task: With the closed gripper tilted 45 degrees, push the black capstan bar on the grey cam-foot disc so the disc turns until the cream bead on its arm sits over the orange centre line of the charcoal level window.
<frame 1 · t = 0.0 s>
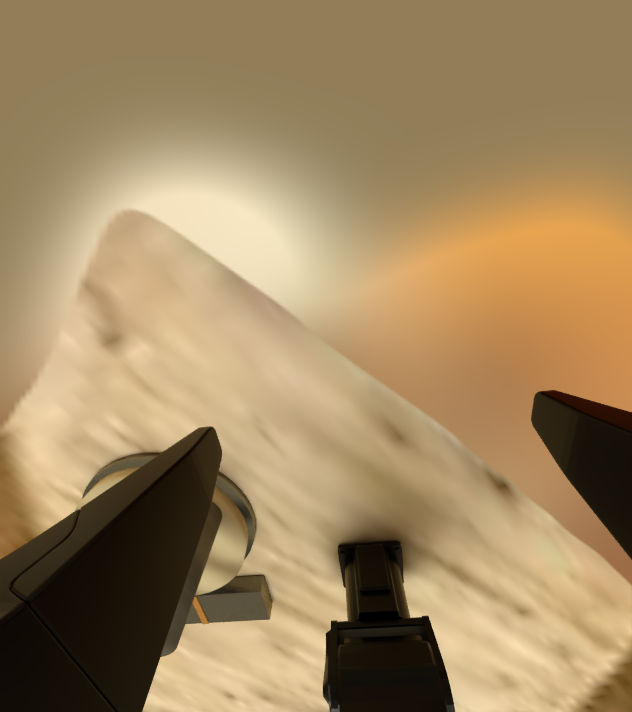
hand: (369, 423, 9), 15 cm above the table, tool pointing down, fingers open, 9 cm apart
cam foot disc: (132, 605, 26), point 6 cm above the table, hinge at -30.0°
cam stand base: (172, 519, 31), on the table
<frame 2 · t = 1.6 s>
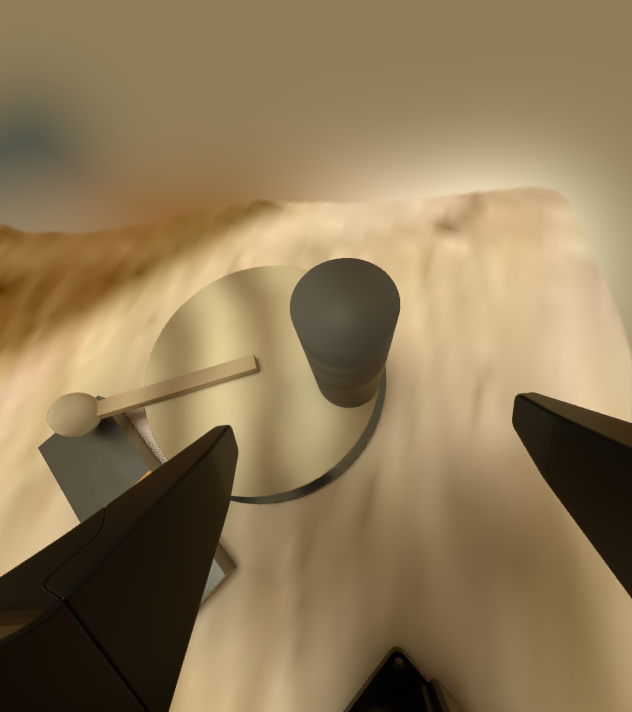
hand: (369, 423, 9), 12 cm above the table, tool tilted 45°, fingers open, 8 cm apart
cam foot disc: (192, 357, 17), point 6 cm above the table, hinge at -30.0°
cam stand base: (268, 376, 23), on the table
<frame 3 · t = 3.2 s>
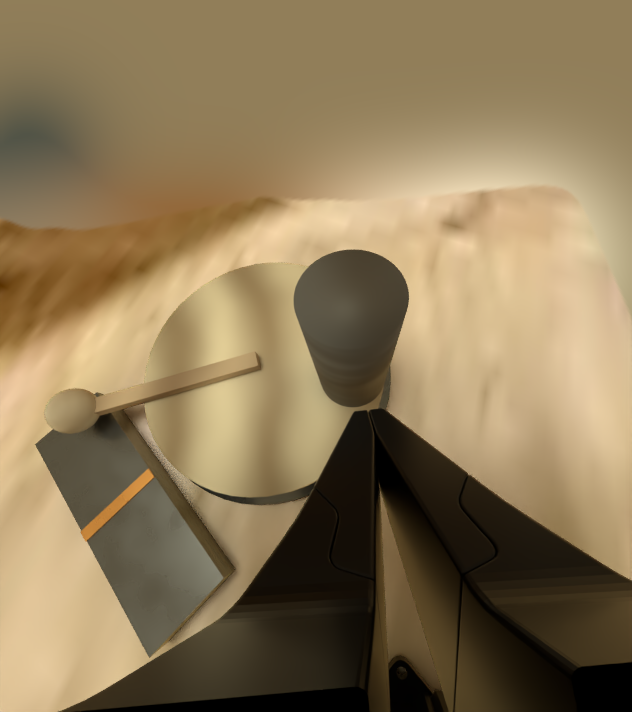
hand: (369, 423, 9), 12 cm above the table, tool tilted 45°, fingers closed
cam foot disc: (192, 352, 17), point 6 cm above the table, hinge at -30.0°
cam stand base: (270, 375, 22), on the table
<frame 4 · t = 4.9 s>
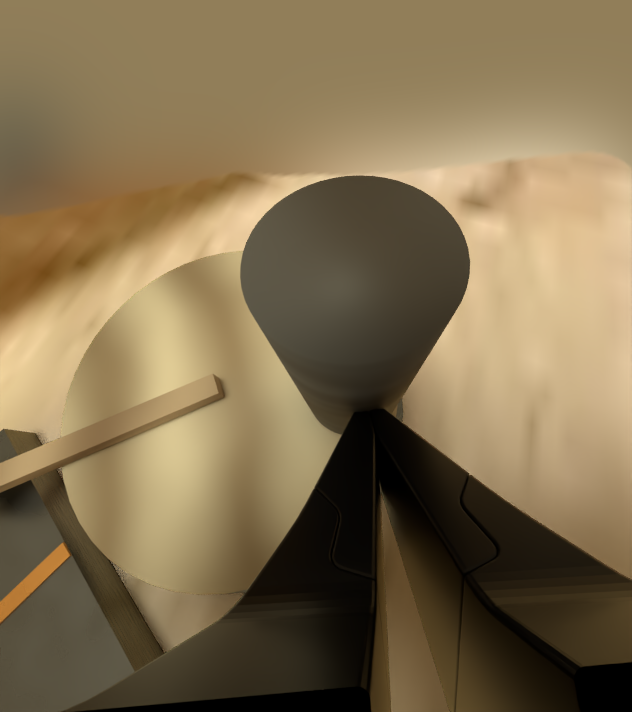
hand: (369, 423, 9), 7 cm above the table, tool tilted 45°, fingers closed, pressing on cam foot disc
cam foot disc: (110, 390, 11), point 6 cm above the table, hinge at -23.2°, touching gripper
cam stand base: (241, 400, 17), on the table
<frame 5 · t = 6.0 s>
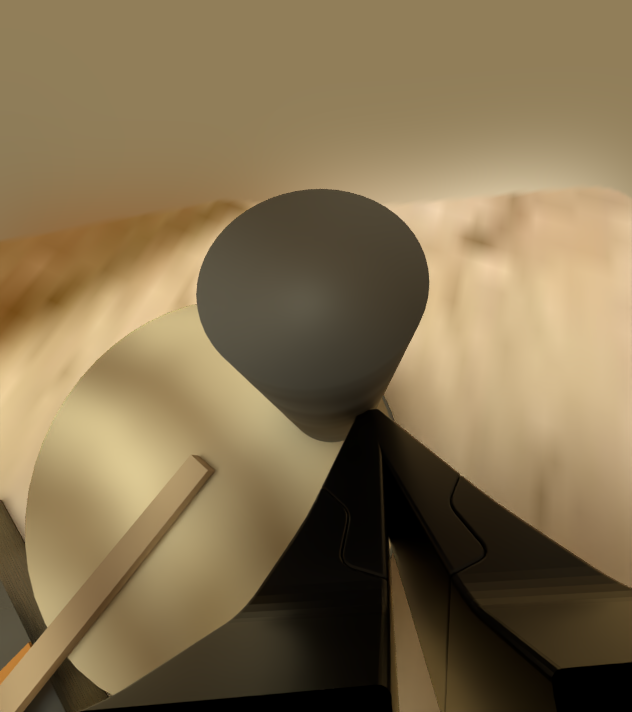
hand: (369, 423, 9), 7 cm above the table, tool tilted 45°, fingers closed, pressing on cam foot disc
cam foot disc: (92, 537, 9), point 6 cm above the table, hinge at 6.5°, touching gripper
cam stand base: (229, 464, 16), on the table
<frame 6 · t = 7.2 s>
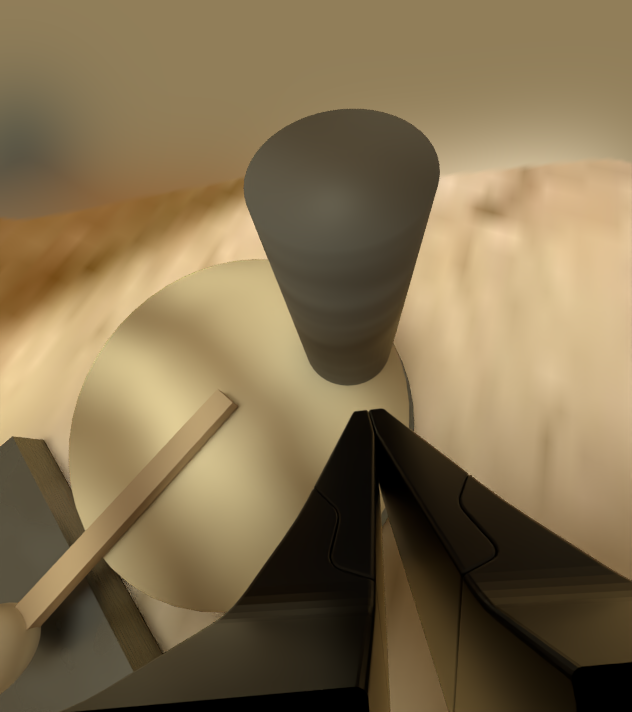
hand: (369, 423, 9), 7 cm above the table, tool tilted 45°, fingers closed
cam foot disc: (134, 436, 10), point 6 cm above the table, hinge at 5.0°
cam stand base: (249, 411, 17), on the table
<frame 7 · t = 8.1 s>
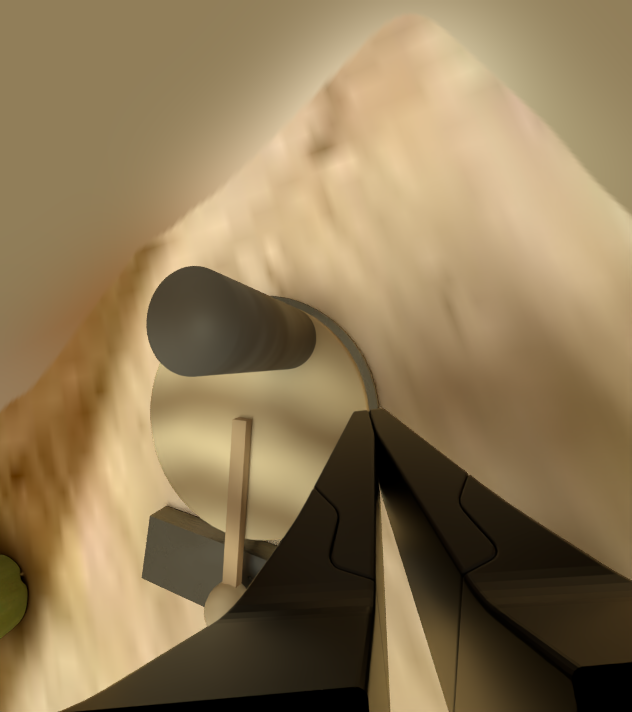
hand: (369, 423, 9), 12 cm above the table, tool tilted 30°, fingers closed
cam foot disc: (208, 479, 17), point 6 cm above the table, hinge at 5.0°
plant pot: (9, 586, 31), on the table
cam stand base: (263, 411, 23), on the table
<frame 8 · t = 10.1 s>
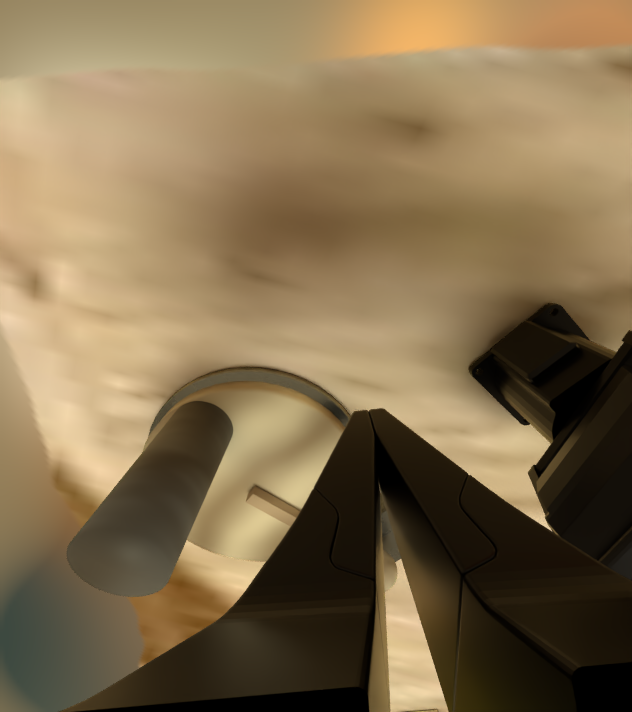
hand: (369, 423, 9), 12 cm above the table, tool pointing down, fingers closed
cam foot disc: (274, 555, 19), point 6 cm above the table, hinge at 5.0°
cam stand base: (258, 463, 25), on the table
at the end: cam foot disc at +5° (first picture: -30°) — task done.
